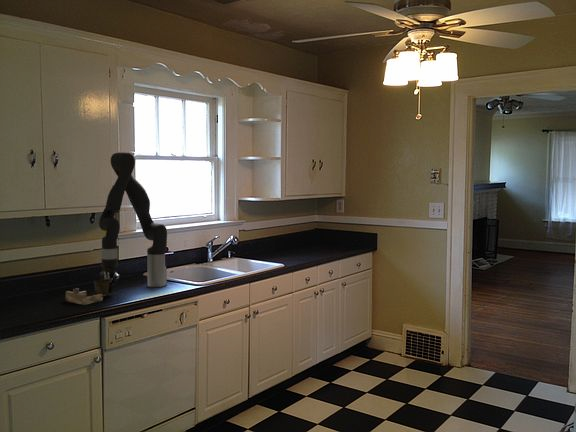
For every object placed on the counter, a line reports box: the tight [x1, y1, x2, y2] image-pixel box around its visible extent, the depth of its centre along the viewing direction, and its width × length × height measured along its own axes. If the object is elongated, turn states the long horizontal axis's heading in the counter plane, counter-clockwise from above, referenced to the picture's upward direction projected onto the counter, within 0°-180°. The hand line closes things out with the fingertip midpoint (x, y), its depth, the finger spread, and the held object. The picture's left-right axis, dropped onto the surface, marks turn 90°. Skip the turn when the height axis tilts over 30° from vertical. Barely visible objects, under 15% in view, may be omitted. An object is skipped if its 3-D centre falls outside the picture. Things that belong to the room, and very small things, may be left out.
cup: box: [93, 279, 110, 298], centre depth 270 cm, size 8×7×8 cm
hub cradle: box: [65, 287, 104, 306], centre depth 261 cm, size 11×13×6 cm
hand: (109, 292), depth 274 cm, fingers closed
